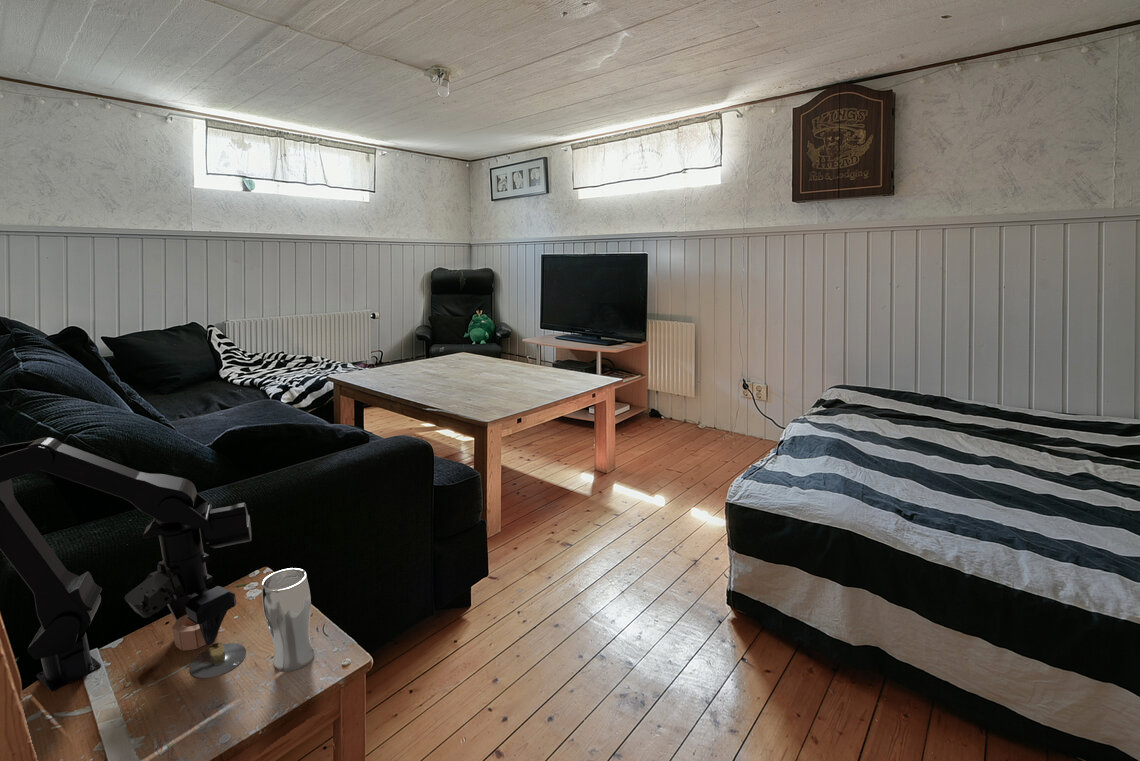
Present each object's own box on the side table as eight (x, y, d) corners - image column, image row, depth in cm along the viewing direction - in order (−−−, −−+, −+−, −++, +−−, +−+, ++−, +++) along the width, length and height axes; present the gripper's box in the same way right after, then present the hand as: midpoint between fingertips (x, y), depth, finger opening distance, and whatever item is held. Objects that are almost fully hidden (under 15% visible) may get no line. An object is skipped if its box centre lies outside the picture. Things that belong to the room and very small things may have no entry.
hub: (180, 668, 94) (177, 652, 93) (230, 640, 100) (228, 625, 100) (206, 686, 89) (203, 670, 89) (256, 656, 96) (254, 641, 95)
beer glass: (299, 677, 91) (289, 593, 88) (261, 671, 93) (249, 588, 90) (325, 648, 98) (316, 569, 95) (289, 643, 99) (280, 565, 96)
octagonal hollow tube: (169, 642, 99) (166, 624, 98) (206, 623, 104) (203, 606, 103) (187, 654, 96) (184, 636, 95) (223, 634, 101) (221, 617, 100)
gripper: (102, 559, 95) (118, 641, 98) (156, 593, 85) (171, 683, 88) (175, 532, 104) (188, 608, 107) (231, 560, 94) (243, 642, 98)
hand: (196, 634), depth 100 cm, fingers open, 9 cm apart
